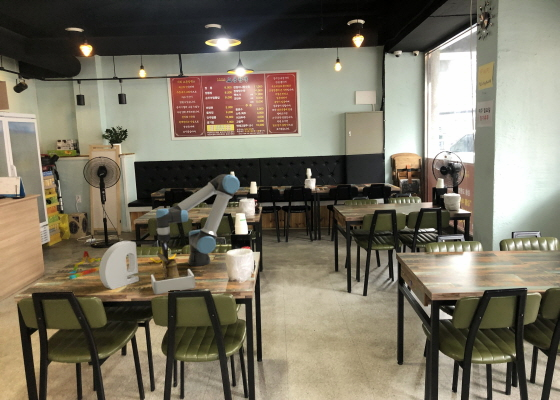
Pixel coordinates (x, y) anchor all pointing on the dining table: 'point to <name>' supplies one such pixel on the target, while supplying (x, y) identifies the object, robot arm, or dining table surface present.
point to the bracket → (119, 265)
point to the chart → (86, 270)
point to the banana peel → (162, 260)
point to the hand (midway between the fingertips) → (166, 270)
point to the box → (173, 284)
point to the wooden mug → (169, 267)
